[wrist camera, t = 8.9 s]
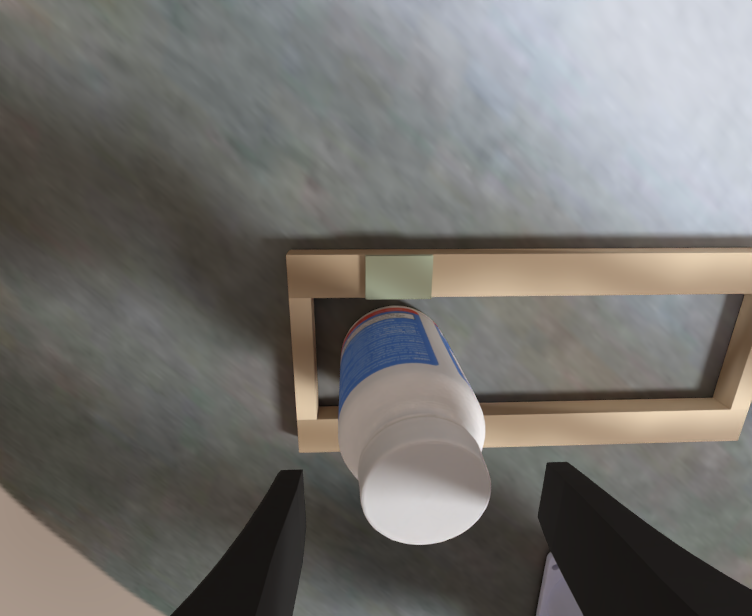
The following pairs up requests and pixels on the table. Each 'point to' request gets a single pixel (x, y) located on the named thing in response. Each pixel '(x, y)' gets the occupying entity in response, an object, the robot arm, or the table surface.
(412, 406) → the pill bottle
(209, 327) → the table surface
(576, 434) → the open wooden frame
